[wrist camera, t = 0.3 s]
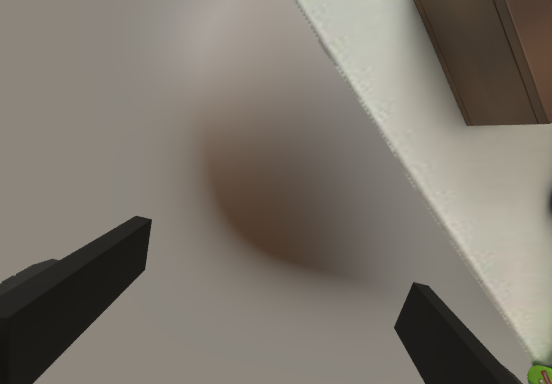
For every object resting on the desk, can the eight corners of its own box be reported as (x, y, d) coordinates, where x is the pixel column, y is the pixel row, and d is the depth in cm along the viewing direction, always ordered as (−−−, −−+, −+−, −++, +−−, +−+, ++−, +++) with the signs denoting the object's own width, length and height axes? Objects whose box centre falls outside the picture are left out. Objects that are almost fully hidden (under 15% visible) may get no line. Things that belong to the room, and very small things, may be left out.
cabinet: (409, -11, 24) (475, -84, 16) (542, -98, 23) (695, -232, 14) (466, 126, 27) (549, 124, 19) (590, 58, 25) (741, 22, 17)
